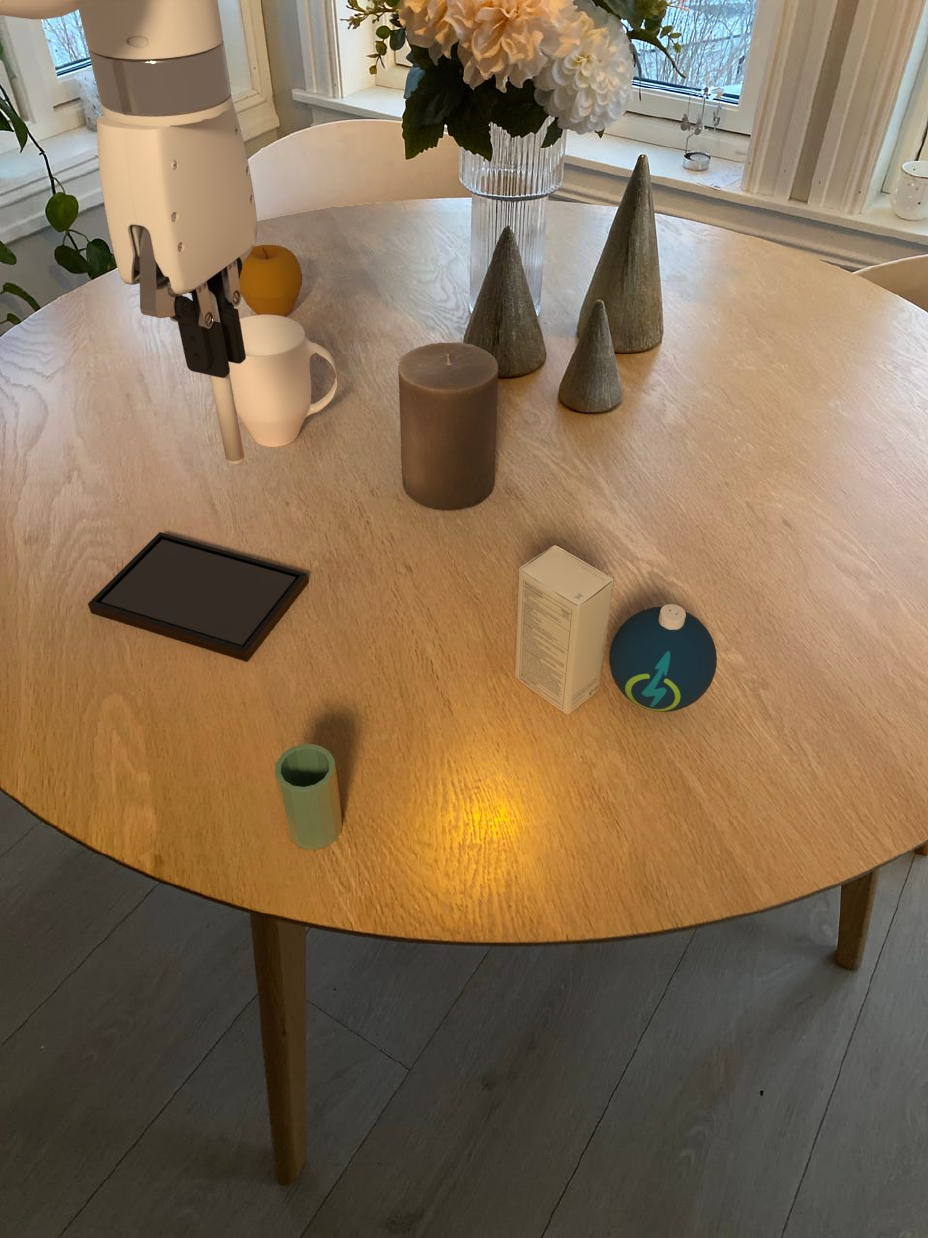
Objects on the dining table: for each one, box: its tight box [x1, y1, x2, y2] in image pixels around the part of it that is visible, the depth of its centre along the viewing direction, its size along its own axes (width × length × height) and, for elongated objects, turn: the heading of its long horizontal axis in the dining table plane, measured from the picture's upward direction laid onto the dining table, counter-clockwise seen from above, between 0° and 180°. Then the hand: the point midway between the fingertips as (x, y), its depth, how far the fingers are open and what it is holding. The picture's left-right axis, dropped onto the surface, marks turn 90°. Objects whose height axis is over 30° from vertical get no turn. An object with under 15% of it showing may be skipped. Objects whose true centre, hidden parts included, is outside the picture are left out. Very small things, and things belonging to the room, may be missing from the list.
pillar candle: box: [397, 341, 499, 512], centre depth 95 cm, size 10×10×15 cm
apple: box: [239, 244, 303, 317], centre depth 125 cm, size 8×8×9 cm
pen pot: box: [274, 743, 343, 851], centre depth 67 cm, size 4×4×7 cm
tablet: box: [87, 531, 309, 663], centre depth 87 cm, size 16×11×1 cm
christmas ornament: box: [608, 603, 718, 713], centre depth 76 cm, size 8×8×10 cm
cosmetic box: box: [514, 544, 615, 716], centre depth 76 cm, size 6×4×12 cm
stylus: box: [209, 291, 245, 466], centre depth 69 cm, size 1×1×14 cm
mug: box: [229, 314, 338, 448], centre depth 103 cm, size 12×9×12 cm
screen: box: [101, 540, 296, 647], centre depth 86 cm, size 14×9×1 cm, turn 69°
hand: (217, 364), depth 68 cm, fingers closed on stylus, 1 cm apart
